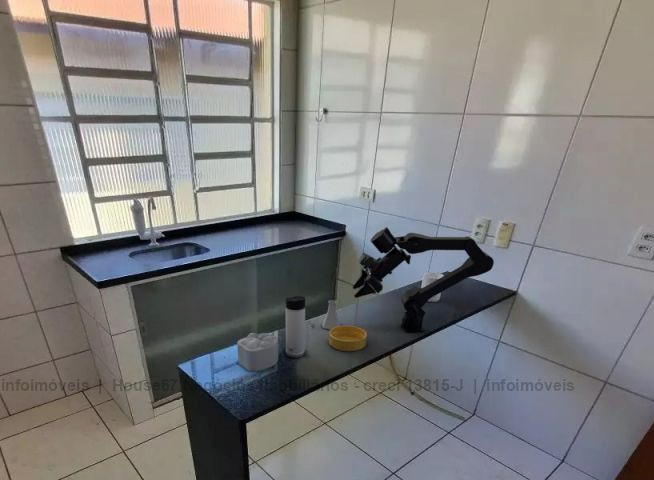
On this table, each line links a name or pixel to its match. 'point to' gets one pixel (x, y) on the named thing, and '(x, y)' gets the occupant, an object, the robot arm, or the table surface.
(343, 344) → the bowl
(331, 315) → the flask
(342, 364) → the table surface
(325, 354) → the table surface
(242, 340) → the lumpy-topped squat cylinder
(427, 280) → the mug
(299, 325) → the travel mug
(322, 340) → the table surface
